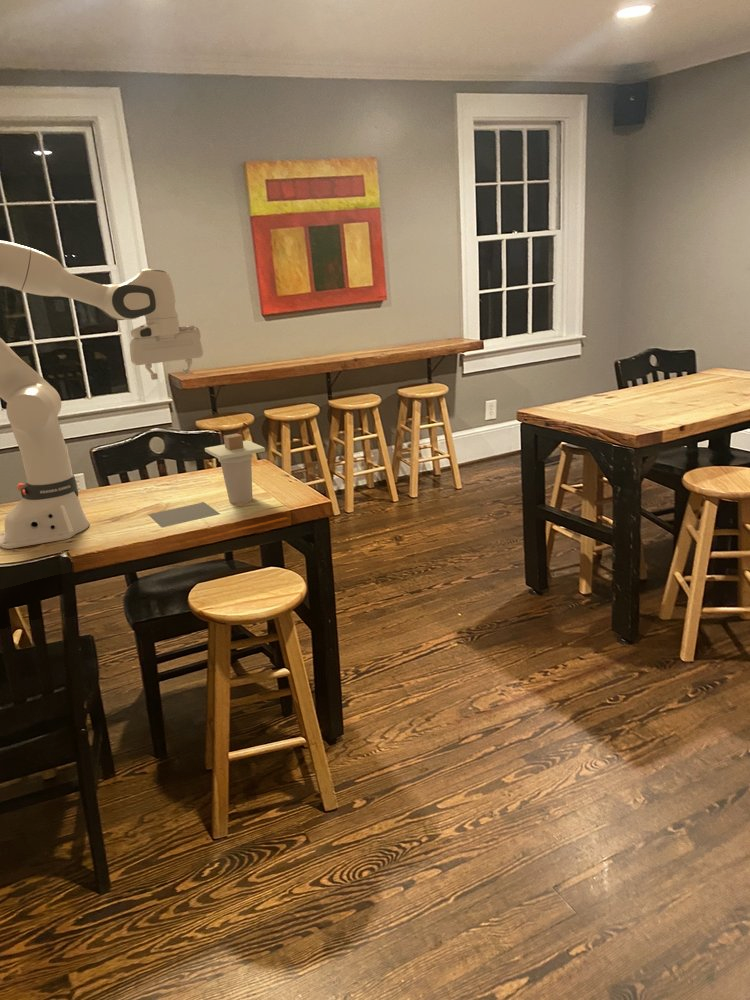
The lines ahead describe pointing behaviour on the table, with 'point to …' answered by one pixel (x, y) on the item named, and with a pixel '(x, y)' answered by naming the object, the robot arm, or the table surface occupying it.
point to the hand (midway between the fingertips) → (171, 377)
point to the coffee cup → (238, 478)
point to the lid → (234, 447)
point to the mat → (183, 514)
